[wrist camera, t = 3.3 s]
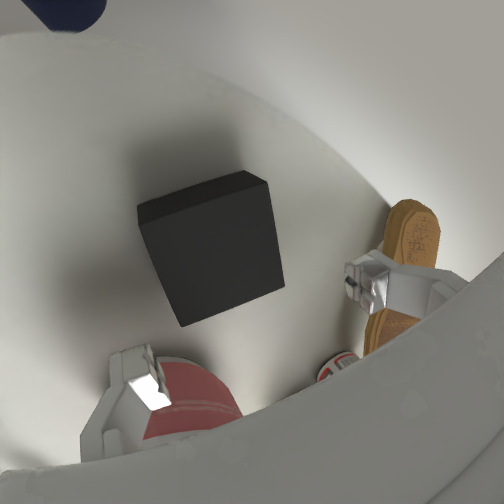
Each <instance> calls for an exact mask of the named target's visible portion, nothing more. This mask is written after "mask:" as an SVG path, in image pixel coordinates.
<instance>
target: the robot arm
mask: <svg viewBox="0 0 504 504" xmlns="http://www.w3.org/2000/svg"><path fill="white" fill-rule="evenodd" d="M345 273H346V274H347V277H346V279H345V289H346V291H347V294H348V295H349V297H350V298H351V299H352V300H353V301H357V302H360V307H361V308H362V309H364V310H365V311H366V312H367V313H368V314H369V315H372V314H374V313H376V312H378V311H380V310H381V309H383V308H385V307H386V308H388V309H391V310H394V311H397V312H400V313H403V314H407V315H410V316H413V317H416V318H419V319H421V320H420V321H418V322H417V323H415V324H414V325H413V326H411V327H410V328H408V329H407V330H405V331H404V332H402V333H401V334H399V335H398V336H396V337H395V338H393V339H392V340H390V341H389V342H387V343H385V344H384V345H382V346H381V347H379V348H378V349H376V350H374V351H373V352H371V353H369V354H368V355H366V356H364V357H363V358H361V359H359V360H358V361H356V362H354V363H352V364H351V365H349V366H347V367H345V368H344V369H342V370H340V371H338V372H336V373H335V374H333V375H331V376H329V377H327V378H325V379H323V380H321V381H320V382H318V383H316V384H314V385H312V386H310V387H308V388H306V389H304V390H302V391H300V392H298V393H296V394H294V395H291V396H289V397H287V398H285V399H283V400H281V401H279V402H276V403H274V404H272V405H270V406H267V407H265V408H263V409H261V410H258V411H256V412H253V413H251V414H249V415H246V416H244V417H241V418H239V419H236V420H234V421H231V422H229V423H226V424H223V425H221V426H218V427H215V428H212V429H210V430H207V431H204V432H201V433H198V434H195V435H192V436H189V437H186V438H183V439H180V440H176V441H173V442H170V443H166V444H163V445H159V446H156V447H152V448H148V449H145V450H141V449H140V446H141V443H142V440H143V437H144V434H145V431H146V428H147V425H148V422H149V419H150V416H151V413H152V412H151V411H153V410H156V409H159V408H162V407H165V406H168V405H170V404H172V403H171V399H170V395H169V391H168V389H167V388H166V386H165V383H166V378H165V375H164V372H163V369H162V367H161V365H160V363H159V361H158V360H157V358H155V357H153V353H152V350H151V348H150V346H149V345H148V344H147V343H146V344H142V345H139V346H136V347H133V348H130V349H127V350H124V351H122V352H118V353H115V354H112V355H110V357H109V370H110V388H107V389H106V391H105V393H104V394H103V396H102V398H101V399H100V401H99V403H98V405H97V406H96V408H95V410H94V412H93V413H92V415H91V417H90V419H89V420H88V422H87V424H86V426H85V427H84V429H83V431H82V433H81V435H80V453H81V463H78V464H71V465H64V466H56V467H47V468H37V469H20V470H7V471H5V472H3V473H2V475H1V476H0V504H504V252H503V253H502V254H501V255H500V256H499V257H498V258H497V259H496V260H494V261H493V263H491V264H490V265H489V266H488V267H487V268H486V269H484V270H483V271H482V272H481V273H480V274H479V275H478V276H476V277H475V278H474V279H473V280H472V281H471V282H467V281H466V280H464V279H463V278H461V277H460V276H458V275H457V274H455V273H453V272H452V271H448V270H442V269H435V268H428V267H422V266H415V265H408V264H402V265H400V264H398V263H397V262H395V261H394V260H392V259H391V258H389V257H387V256H386V255H384V254H383V253H381V252H379V251H378V250H372V251H370V252H368V253H366V254H364V255H362V256H360V257H358V258H356V259H354V260H351V261H349V262H347V263H346V264H345Z"/></svg>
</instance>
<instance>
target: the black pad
mask: <svg viewBox="0 0 504 504" xmlns="http://www.w3.org/2000/svg"><path fill="white" fill-rule="evenodd" d="M137 214H138V226H139V229H140V231H141V234H142V237H143V239H144V242H145V244H146V247H147V250H148V252H149V255H150V257H151V260H152V262H153V265H154V267H155V269H156V272H157V274H158V277H159V279H160V281H161V284H162V286H163V288H164V291H165V293H166V295H167V298H168V300H169V302H170V304H171V307H172V309H173V311H174V313H175V316H176V318H177V320H178V322H179V324H180V326H181V327H185V326H187V325H190V324H193V323H195V322H198V321H201V320H203V319H206V318H208V317H211V316H214V315H216V314H219V313H221V312H224V311H226V310H229V309H231V308H234V307H236V306H239V305H241V304H244V303H246V302H249V301H251V300H254V299H256V298H259V297H261V296H264V295H266V294H268V293H271V292H273V291H276V290H278V289H280V288H283V287H285V283H284V277H283V271H282V264H281V258H280V252H279V246H278V240H277V234H276V228H275V222H274V216H273V210H272V205H271V199H270V193H269V188H268V183H267V182H266V181H264V180H263V179H261V178H259V177H257V176H255V175H253V174H251V173H249V172H247V171H245V170H243V171H240V172H236V173H233V174H230V175H226V176H223V177H220V178H216V179H213V180H210V181H207V182H204V183H201V184H197V185H194V186H191V187H188V188H185V189H182V190H179V191H176V192H173V193H170V194H168V195H165V196H162V197H159V198H156V199H153V200H151V201H148V202H145V203H142V204H140V205H138V206H137Z"/></svg>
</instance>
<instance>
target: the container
mask: <svg viewBox="0 0 504 504" xmlns="http://www.w3.org/2000/svg"><path fill="white" fill-rule="evenodd" d="M155 358H157V360H158V361H159V363H160V365H161V367H162V369H163V372H164V375H165V378H166V383H165V386H166V388H167V389H168V391H169V395H170V399H171V403H172V404H170V405H168V406H165V407H162V408H159V409H156V410H153V411H151V412H152V413H151V416H150V419H149V422H148V425H147V428H146V431H145V434H144V437H143V440H142V443H141V446H140V449H141V450H145V449H148V448H152V447H156V446H159V445H163V444H166V443H170V442H173V441H176V440H180V439H183V438H186V437H189V436H192V435H195V434H198V433H201V432H204V431H207V430H210V429H212V428H215V427H218V426H221V425H223V424H226V423H229V422H231V421H234V420H236V419H239V418H241V417H243V415H242V413H241V411H240V409H239V408H238V406H237V404H236V402H235V400H234V398H233V396H232V394H231V392H230V391H229V389H228V388H227V386H226V385H225V384H224V383H223V382H222V381H220V380H219V379H218V378H217V377H216V376H215V375H213V374H212V373H210V372H209V371H207V370H206V369H204V368H202V367H201V366H199V365H198V364H196V363H195V362H192V361H190V360H188V359H183V358H179V357H170V356H165V357H155Z"/></svg>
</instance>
